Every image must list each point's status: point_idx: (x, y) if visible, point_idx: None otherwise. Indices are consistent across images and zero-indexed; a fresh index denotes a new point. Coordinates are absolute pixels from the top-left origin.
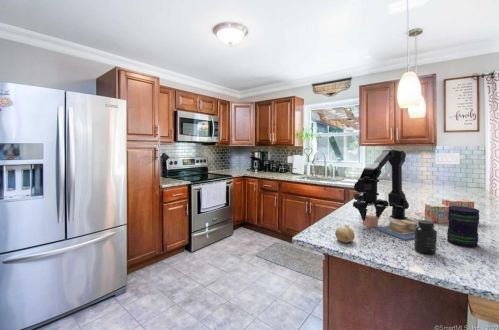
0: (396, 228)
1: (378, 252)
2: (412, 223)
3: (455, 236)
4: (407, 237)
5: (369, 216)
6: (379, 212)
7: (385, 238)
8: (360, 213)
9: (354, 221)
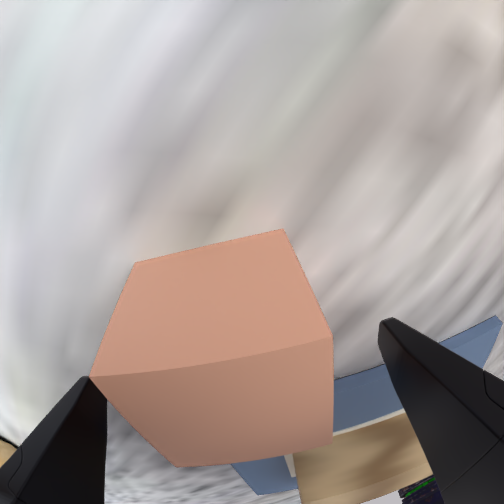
0: (298, 487)
1: (104, 498)
2: (408, 484)
3: (403, 495)
4: (287, 488)
5: (199, 437)
6: (434, 450)
7: (180, 478)
8: (21, 462)
9: (69, 103)
